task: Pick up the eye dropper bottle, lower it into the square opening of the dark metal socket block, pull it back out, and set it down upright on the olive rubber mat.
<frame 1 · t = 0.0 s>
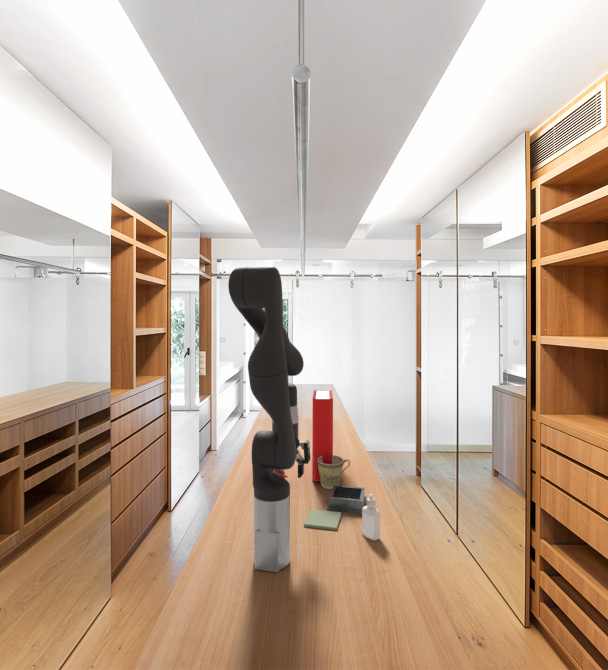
hand: (285, 475, 113), 17 cm above the table, tool pointing down, fingers open, 8 cm apart
ceramic cup: (333, 485, 150), on the table, touching book
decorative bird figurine: (280, 485, 150), on the table
eye dropper bottle: (370, 536, 113), on the table
rubber mat: (323, 520, 122), on the table
socket block: (347, 504, 133), on the table
book: (322, 470, 166), on the table, touching ceramic cup
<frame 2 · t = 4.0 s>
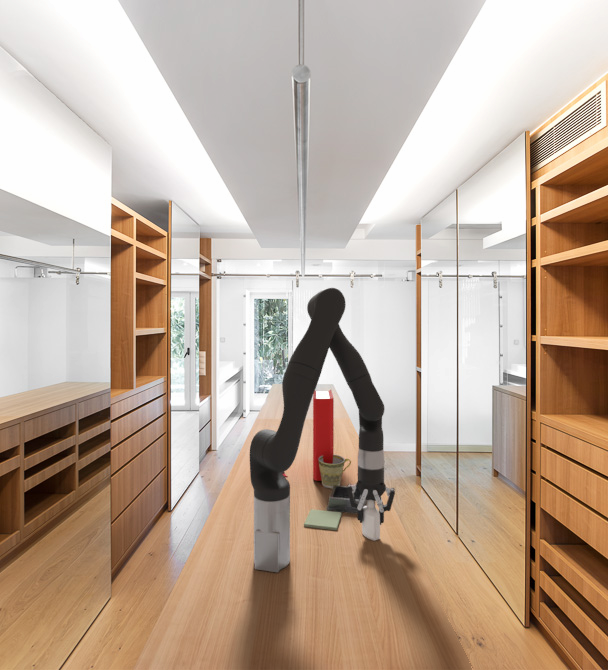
hand: (370, 522, 113), 4 cm above the table, tool pointing down, fingers closed on eye dropper bottle, 4 cm apart
eye dropper bottle: (370, 536, 113), on the table, touching gripper
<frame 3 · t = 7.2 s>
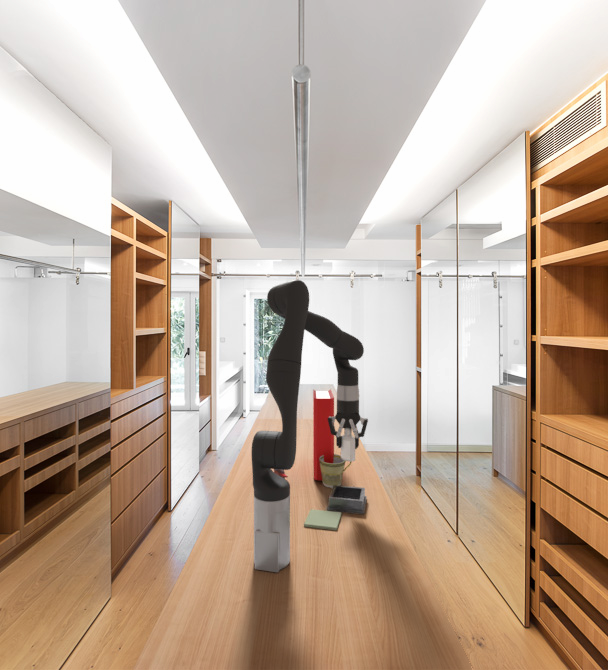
hand: (347, 447, 133), 19 cm above the table, tool pointing down, fingers closed on eye dropper bottle, 4 cm apart
eye dropper bottle: (347, 460, 133), point 15 cm above the table, touching gripper
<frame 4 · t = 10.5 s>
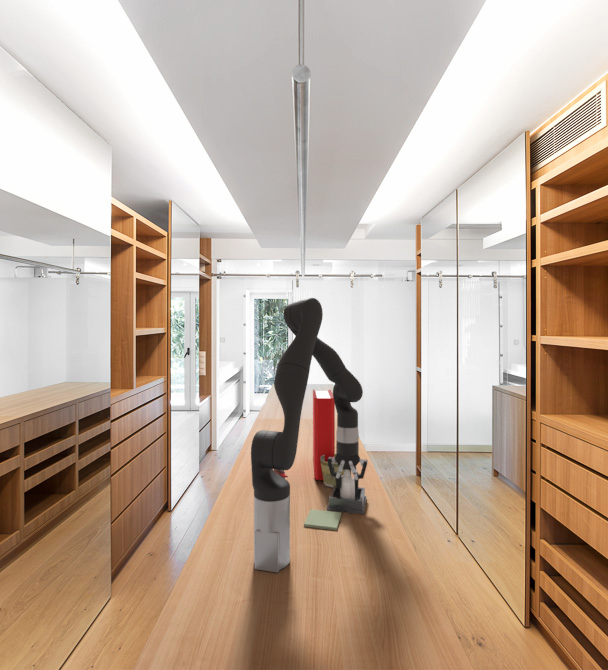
hand: (347, 488, 133), 5 cm above the table, tool pointing down, fingers closed on eye dropper bottle, 4 cm apart
eye dropper bottle: (347, 501, 133), point 1 cm above the table, touching gripper
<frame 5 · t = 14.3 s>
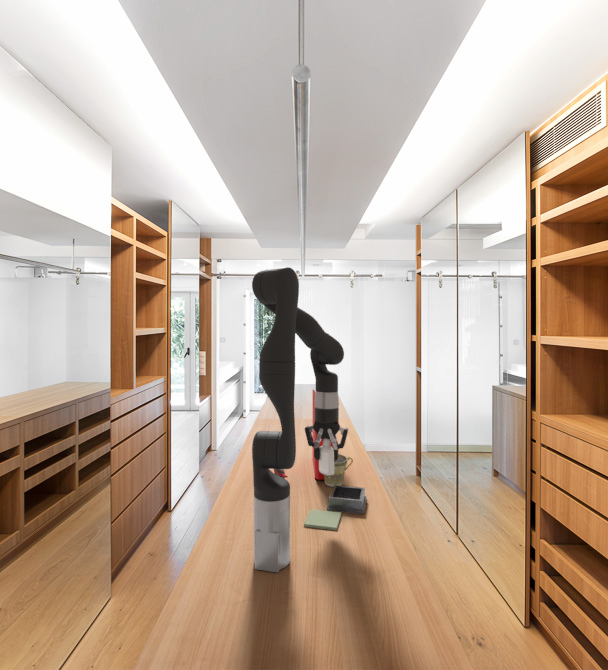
hand: (326, 460, 122), 19 cm above the table, tool pointing down, fingers closed on eye dropper bottle, 4 cm apart
eye dropper bottle: (326, 473, 122), point 14 cm above the table, touching gripper
when the fingers open (6 cm above the table, at t = 17.4 s): eye dropper bottle drops 1 cm, resting on rubber mat.
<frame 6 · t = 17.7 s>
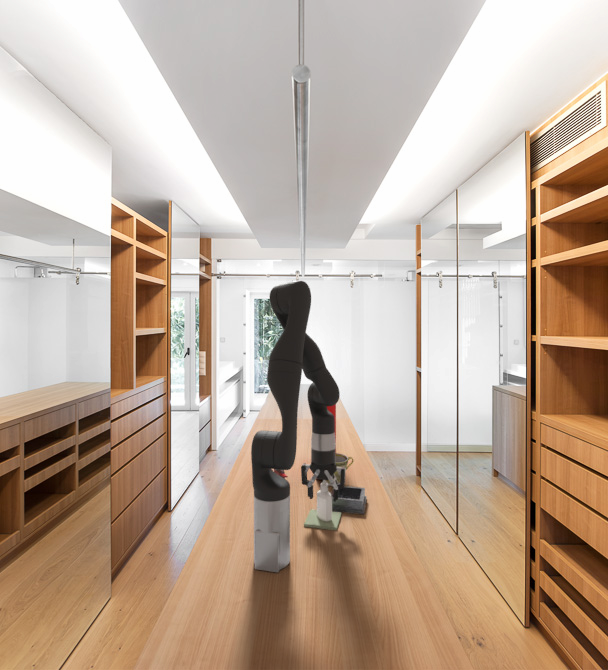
hand: (323, 499, 122), 7 cm above the table, tool pointing down, fingers open, 7 cm apart
eye dropper bottle: (324, 518, 122), point 1 cm above the table, touching rubber mat
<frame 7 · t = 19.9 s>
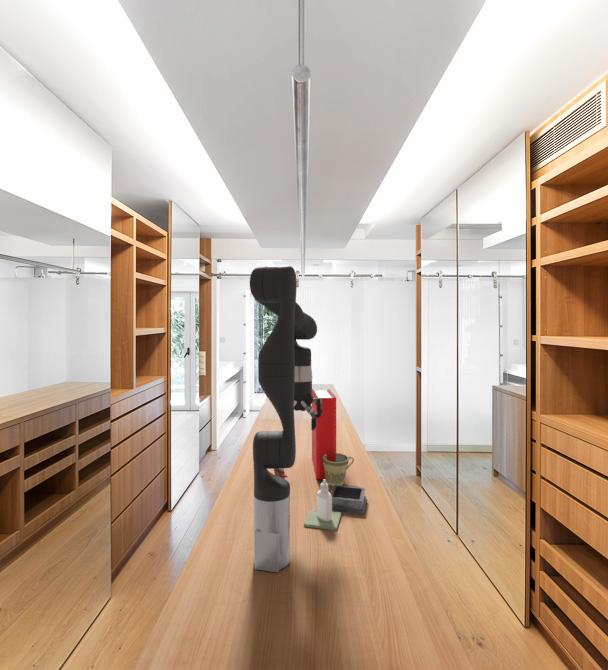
hand: (300, 428, 128), 27 cm above the table, tool pointing down, fingers open, 8 cm apart
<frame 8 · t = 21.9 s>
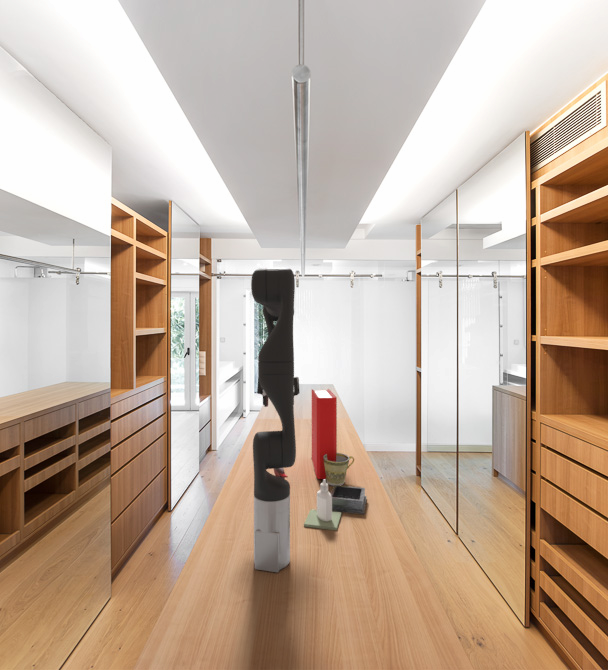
hand: (278, 407, 133), 33 cm above the table, tool pointing down, fingers open, 8 cm apart
at the end: eye dropper bottle inside the target area on the rubber mat (0.3 cm from its centre), point 0.6 cm above the rubber mat's base; eye dropper bottle tilted 0°; the gripper is holding nothing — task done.
